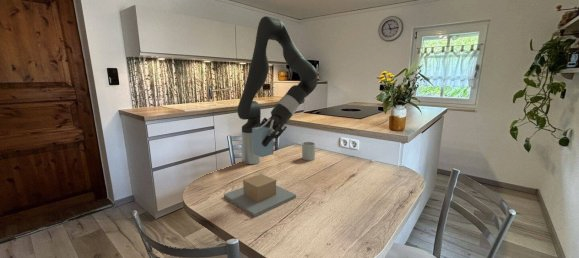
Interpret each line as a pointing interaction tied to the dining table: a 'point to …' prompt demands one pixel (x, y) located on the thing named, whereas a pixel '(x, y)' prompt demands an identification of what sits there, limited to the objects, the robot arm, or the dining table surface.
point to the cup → (308, 151)
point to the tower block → (257, 138)
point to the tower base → (259, 205)
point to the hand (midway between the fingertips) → (259, 143)
